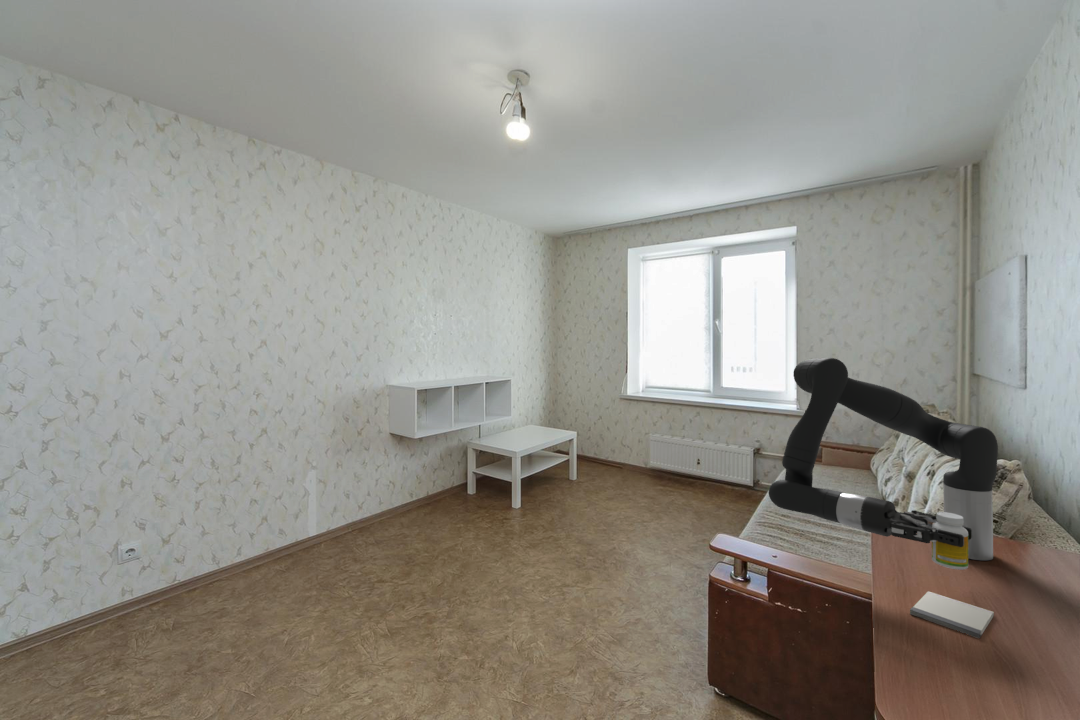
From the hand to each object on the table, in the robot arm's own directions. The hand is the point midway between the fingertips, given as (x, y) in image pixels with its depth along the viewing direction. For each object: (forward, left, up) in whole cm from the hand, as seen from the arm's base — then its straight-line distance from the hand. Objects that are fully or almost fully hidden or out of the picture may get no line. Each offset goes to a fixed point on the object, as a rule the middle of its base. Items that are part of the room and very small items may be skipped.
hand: (967, 537), depth 87 cm
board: (0, -2, -16) cm, 16 cm away
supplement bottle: (0, -3, -6) cm, 7 cm away
